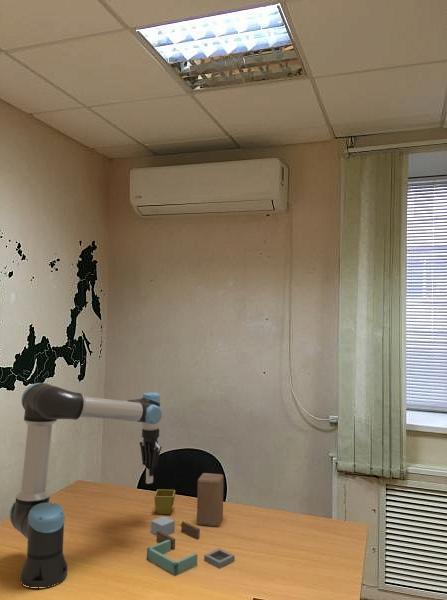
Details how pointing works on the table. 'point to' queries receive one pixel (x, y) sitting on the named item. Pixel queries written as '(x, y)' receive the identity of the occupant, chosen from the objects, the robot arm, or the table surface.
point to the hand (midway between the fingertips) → (149, 482)
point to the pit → (219, 558)
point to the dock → (166, 563)
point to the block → (163, 525)
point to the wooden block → (210, 499)
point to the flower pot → (164, 501)
